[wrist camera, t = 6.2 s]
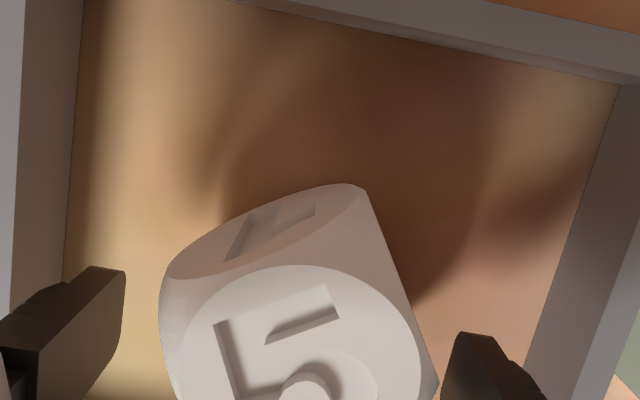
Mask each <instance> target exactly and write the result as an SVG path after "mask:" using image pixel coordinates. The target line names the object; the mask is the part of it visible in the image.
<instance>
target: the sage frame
mask: <svg viewBox="0 0 640 400" xmlns="http://www.w3.org/2000/svg"><path fill="white" fill-rule="evenodd" d="M614 374H615V375H616V376H617V377H618V378H619V379H620V380H621V381H622V382H623V383H624V384H625V385H626V386H627V387H628V388H629V389H630V390H631V391H632V392H633V393H634V394H635V395H636V396H637V397H638V398H639V399H640V309H639V311H638V314H637V316H636V319H635V321H634V324H633V326H632V329H631V332H630V334H629V337H628V339H627V342H626V344H625V347H624V349H623V352H622V354H621V357H620V359H619V362H618V364H617V367H616V369H615V372H614Z"/></svg>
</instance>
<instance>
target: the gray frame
mask: <svg viewBox="0 0 640 400" xmlns="http://www.w3.org/2000/svg"><path fill="white" fill-rule="evenodd" d="M229 1H233V2H238V3H243V4H247V5H252V6H257V7H261V8H266V9H271V10H275V11H280V12H284V13H289V14H294V15H298V16H303V17H308V18H312V19H317V20H322V21H326V22H331V23H336V24H340V25H345V26H350V27H354V28H359V29H364V30H368V31H373V32H378V33H382V34H387V35H392V36H396V37H401V38H406V39H410V40H415V41H420V42H424V43H429V44H434V45H438V46H443V47H448V48H452V49H457V50H462V51H466V52H471V53H476V54H480V55H485V56H490V57H494V58H499V59H504V60H508V61H513V62H517V63H522V64H527V65H531V66H536V67H541V68H545V69H550V70H555V71H559V72H564V73H569V74H573V75H578V76H583V77H587V78H592V79H597V80H601V81H606V82H611V83H615V84H620V85H621V86H620V89H619V91H618V94H617V97H616V100H615V103H614V106H613V109H612V112H611V115H610V118H609V120H608V123H607V126H606V129H605V132H604V135H603V138H602V141H601V144H600V147H599V149H598V152H597V155H596V158H595V161H594V164H593V167H592V170H591V173H590V176H589V178H588V181H587V184H586V187H585V190H584V193H583V196H582V199H581V202H580V205H579V207H578V210H577V213H576V216H575V219H574V222H573V225H572V228H571V231H570V234H569V236H568V239H567V242H566V245H565V248H564V251H563V254H562V257H561V260H560V263H559V265H558V268H557V271H556V274H555V277H554V280H553V283H552V286H551V289H550V291H549V294H548V297H547V300H546V303H545V306H544V309H543V312H542V315H541V318H540V320H539V323H538V326H537V329H536V332H535V335H534V338H533V341H532V344H531V347H530V349H529V352H528V355H527V358H526V361H525V364H524V367H523V370H525V371H526V372H527V373H528V374H530V375H531V377H532V378H533V380H534V381H535V382H536V384H537V385H538V387H539V388H540V390H541V393H543V394H544V395H545V397H546V398H547V400H603V399H604V397H605V394H606V392H607V389H608V387H609V384H610V382H611V379H612V377H613V374H614V372H615V369H616V367H617V364H618V362H619V359H620V357H621V354H622V352H623V349H624V347H625V344H626V342H627V339H628V337H629V334H630V332H631V329H632V326H633V324H634V321H635V319H636V316H637V314H638V311H639V309H640V35H639V34H634V33H630V32H625V31H620V30H616V29H611V28H607V27H602V26H598V25H593V24H589V23H584V22H579V21H575V20H570V19H566V18H561V17H557V16H552V15H548V14H543V13H538V12H534V11H529V10H525V9H520V8H516V7H511V6H507V5H502V4H497V3H493V2H488V1H484V0H229ZM83 3H84V0H0V320H1V319H3V318H4V317H5V316H7V315H8V314H9V313H11V314H12V312H13V310H14V309H16V308H17V307H18V306H20V305H21V304H24V303H25V301H26V300H27V299H29V298H30V297H31V296H32V295H34V294H35V293H36V292H38V291H39V290H41V289H43V288H46V287H49V286H52V285H54V284H57V283H60V282H61V279H62V267H63V254H64V242H65V229H66V216H67V204H68V191H69V179H70V166H71V154H72V141H73V128H74V116H75V103H76V91H77V78H78V66H79V53H80V40H81V28H82V15H83Z"/></svg>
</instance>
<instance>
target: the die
mask: <svg viewBox="0 0 640 400" xmlns="http://www.w3.org/2000/svg"><path fill="white" fill-rule="evenodd" d="M158 318H159V331H160V339H161V345H162V350H163V355H164V360H165V364H166V367H167V371H168V374H169V378H170V381H171V384H172V386H173V389H174V392H175V394H176V397H177V399H178V400H432V398H433V396H434V394H435V393H436V390H437V388H438V386H439V383H440V382H439V379H438V377H437V374H436V371H435V369H434V366H433V363H432V361H431V358H430V355H429V353H428V350H427V348H426V345H425V342H424V340H423V337H422V335H421V332H420V329H419V327H418V324H417V321H416V319H415V316H414V314H413V311H412V308H411V306H410V303H409V301H408V298H407V295H406V293H405V290H404V288H403V285H402V282H401V280H400V277H399V275H398V272H397V269H396V267H395V264H394V262H393V259H392V257H391V254H390V251H389V249H388V246H387V244H386V241H385V238H384V236H383V233H382V231H381V228H380V226H379V223H378V220H377V218H376V215H375V213H374V210H373V208H372V205H371V203H370V200H369V197H368V195H367V192H366V190H365V189H362V188H360V187H358V186H355V185H353V184H347V183H338V184H329V185H323V186H319V187H314V188H310V189H307V190H303V191H300V192H297V193H293V194H290V195H287V196H285V197H282V198H279V199H276V200H274V201H271V202H269V203H266V204H264V205H261V206H259V207H257V208H255V209H252V210H250V211H248V212H246V213H244V214H242V215H240V216H237V217H235V218H234V219H232V220H230V221H228V222H226V223H224V224H222V225H220V226H219V227H217V228H215V229H213V230H212V231H210V232H208V233H207V234H205V235H203V236H202V237H200V238H199V239H197V240H196V241H194V242H193V243H192V244H190V245H189V246H188V247H186V248H185V249H184V250H183V251H181V252H180V253H179V254H178V255H177V256H176V257H175V258H174V259H173V260H172V261H171V263H170V264H169V266H168V268H167V270H166V273H165V275H164V278H163V281H162V284H161V289H160V294H159V306H158Z"/></svg>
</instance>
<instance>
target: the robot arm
mask: <svg viewBox="0 0 640 400" xmlns="http://www.w3.org/2000/svg"><path fill="white" fill-rule="evenodd" d="M125 285H126V275H125V272H124V271H120V270H114V269H108V268H103V267H97V266H89V267H88V268H87V269H85V270H84V271H83V272H82V273H81V274H79V275H78V276H77V277H76V278H75V279H73V280H72V281H71V282H70V283H65V282H60V283H57V284H54V285H52V286H49V287H46V288H43V289H41V290H39V291H38V292H36V293H35V294H34V295H32V296H31V297H30V298H29V299H27V300H26V301H25V303H24V304H21V305H20V306H18V307H17V308H16V309H14V310H13V312H12V314H11V313H9V314H8V315H7V316H5V317H4V318H3V319H1V320H0V400H82V399H83V397H84V396H85V395H86V393H87V392H88V391H89V389H90V388H91V386H92V385H93V384H94V382H95V381H96V380H97V378H98V377H99V375H100V374H101V373H102V371H103V370H104V369H105V367H106V366H107V364H108V363H109V362H110V360H111V359H112V357H113V355H114V353H115V351H116V348H117V345H118V342H119V338H120V333H121V324H122V314H123V305H124V295H125ZM440 400H547V398H546V397H545V395H544V394H543V393H541V390H540V388H539V387H538V385H537V384H536V382H535V381H534V380H533V378H532V377H531V375H530V374H528V373H527V372H526V371H525V370H523V369H522V368H521V367H520V366H519V365H517V364H516V363H515V362H514V361H511V360H508V358H507V357H506V355H505V354H504V352H503V351H502V349H501V348H500V346H499V345H498V343H497V341H496V340H495V339H494V338H493V337H492V336H486V335H480V334H475V333H469V332H463V331H461V332H460V333H459V334H458V335H457V337H456V339H455V342H454V346H453V349H452V353H451V356H450V360H449V363H448V367H447V370H446V374H445V377H444V380H443V384H442V388H441V393H440Z"/></svg>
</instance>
